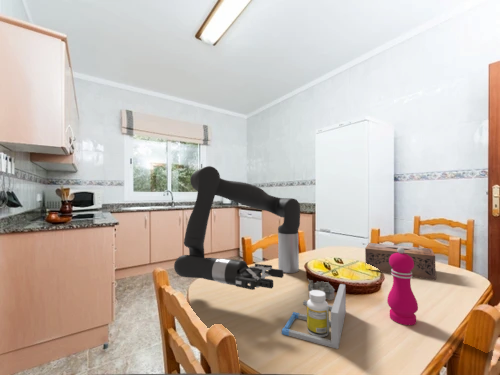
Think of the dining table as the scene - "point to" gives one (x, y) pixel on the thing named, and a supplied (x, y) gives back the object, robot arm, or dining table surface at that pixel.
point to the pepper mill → (402, 289)
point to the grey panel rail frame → (335, 322)
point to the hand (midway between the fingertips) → (278, 278)
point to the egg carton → (322, 288)
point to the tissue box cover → (421, 256)
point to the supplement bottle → (317, 314)
